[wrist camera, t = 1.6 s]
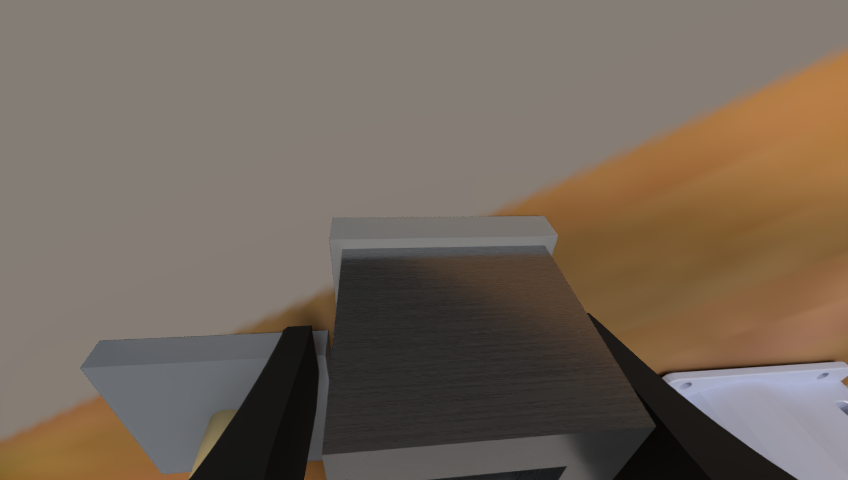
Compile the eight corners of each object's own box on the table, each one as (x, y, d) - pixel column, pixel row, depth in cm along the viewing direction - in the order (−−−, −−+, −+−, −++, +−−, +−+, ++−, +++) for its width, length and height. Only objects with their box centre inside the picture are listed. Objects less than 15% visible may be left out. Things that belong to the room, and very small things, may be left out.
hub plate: (328, 330, 13) (313, 453, 10) (341, 435, 17) (334, 545, 14) (99, 340, 12) (-1, 480, 9) (172, 448, 16) (122, 570, 13)
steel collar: (544, 245, 10) (656, 426, 6) (506, 366, 13) (564, 538, 9) (342, 249, 10) (321, 455, 6) (352, 375, 13) (344, 565, 9)
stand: (544, 216, 11) (593, 287, 9) (505, 348, 14) (532, 425, 12) (332, 217, 10) (320, 296, 8) (345, 357, 14) (340, 441, 11)
